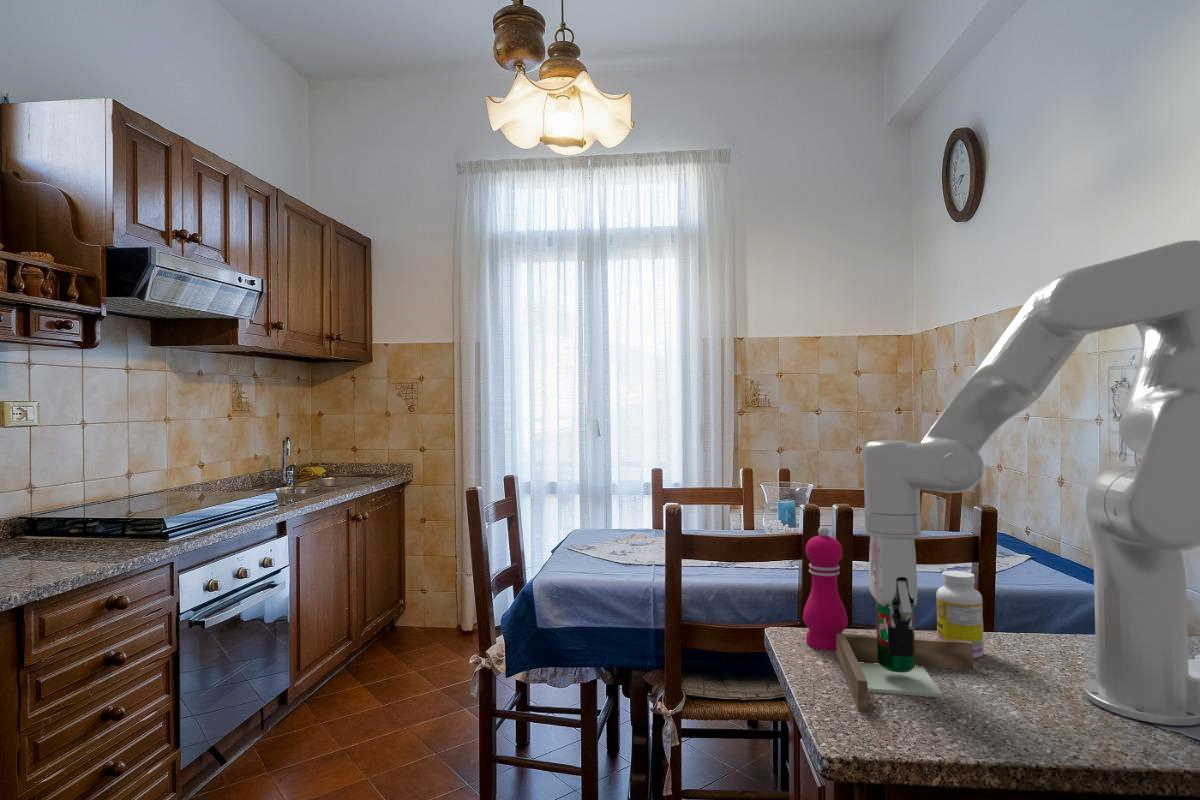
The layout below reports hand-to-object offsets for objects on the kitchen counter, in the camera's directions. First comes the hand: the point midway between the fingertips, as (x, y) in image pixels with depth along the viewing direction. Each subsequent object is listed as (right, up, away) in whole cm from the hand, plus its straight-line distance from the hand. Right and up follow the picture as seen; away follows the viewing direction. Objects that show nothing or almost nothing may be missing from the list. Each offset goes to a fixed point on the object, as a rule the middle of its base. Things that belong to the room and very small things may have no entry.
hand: (895, 647), depth 96 cm
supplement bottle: (+16, -5, +11) cm, 20 cm away
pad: (0, -5, 0) cm, 5 cm away
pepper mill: (-5, -6, +15) cm, 17 cm away
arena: (+2, -5, -3) cm, 6 cm away
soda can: (0, -3, 0) cm, 3 cm away
